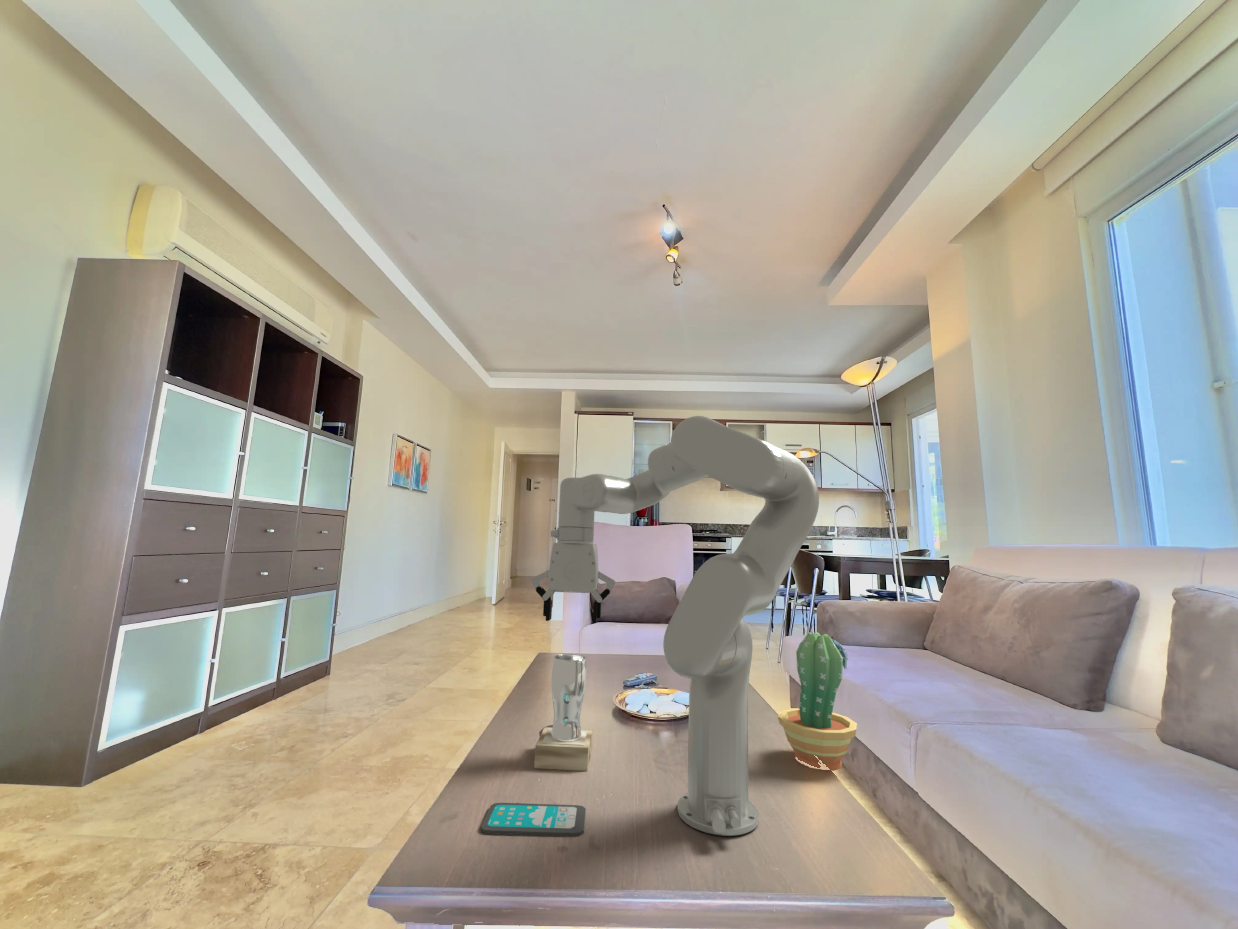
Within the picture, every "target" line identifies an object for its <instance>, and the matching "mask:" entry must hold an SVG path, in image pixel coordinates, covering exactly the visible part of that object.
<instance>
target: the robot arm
mask: <svg viewBox="0 0 1238 929" xmlns="http://www.w3.org/2000/svg"><path fill="white" fill-rule="evenodd" d="M647 467H648V469H647V470H645V471H643V472H641V473H639V474H637V475H634V476H630V477H629V478H623V477H618V476H612V475H607V474H603V473H592V474H589V475H585V476H583V477H582V476H581V477H578V476H577V477H576V476H575V477H567V478H564V479H562V481H561V483H560V486H559V487H560V488H559V505H558V506H559V508H558V522H557V523H558V525H557V526H558V527H557V529H555V530H551V531H550V537H551V538H556V540H557V542H553V543H552V547H551V552H550V558H549V567H548V570H546V571H544V572H541V573H540V574H538V575H535V576H533V577H532V578H531V582H532V584H533V586H534V589H535V591H536V593H537V594H538V595H539V596H540V598H541V599H542V600H543V609H542V610H543V611H542V612H543V613H542V615H543V616H542V617H545V622H549V621H550V620H552V617H553V616H552V615H553V614H552V612H553V611H552V610H553V600H552V596H553V595H554V594H555V592H556V593H573V594H574V593H575V594H577V593H580V594H591V595H592V597H593V598H594V602H593V610H592V611H593V614H592V622H593V623H594V624H596V623H598V619H601V617H602V616H601V615H602V602H603V601H604V600H605V599H606V598H607V597H608V596H609V595H610V594H611V592H612V590H613V588H614V587H615V584H616V580H615V579H613V578H611V577H609V576H608V575H606V574H605V573H602V572H601V571H599V556H598V552H599V551H598V547H597V546H598V545H597V543H594V535H595V534H594V533H595V531H594V530H595V529H594V528H595V512H600V513H609V514H610V513H612V514H617V515H618V514H619V515H626V514H627V515H628V514H633V513H635V512H637V511H641V510H643V509H645V508H649V507H651V506H652V507H653V506H654V505H657V504H658V503H660V502H661V501H663V500H664V499H665V498H666V497H667V496H668V495H670V493H671V492H673V491H674V490H677V489H681V488H683V487H685V486H688V485H690V484H693V483H695V482H698V481H702V480H704V479H707V478H712V479H714V480H715V481H718V482H719V483H722V484H723V485H726V486H728V487H729V488H732V489H734V490H736V491H737V492H740V493H742V494H743V493H744V494H746V495H750V496H755V497H757V498H762V499H764V501H765V502H764V505H763V507H762V508H761V510H760V512H759V513H758V514H757V515H756V516H755V517H754V519H753V520H752V521H751V523H750V524H749V526H748V528H747V530H746V532H745V534H744V535H743V538H742V540H741V541H740V543H739V545H738V546H737V548H736V550H734V552H733V553H721V554H717V555H715V556H712V557H710V558H708V559H707V560H706V561H704V563H703V564H701V565H700V567H699V568H698V569H697V571H696V572H695V573H694V575H693V577H692V578H691V580H690V582H689V584H688V586H687V588H686V589H685V591H684V593H683V595H682V597H681V599H680V601H679V603H678V604H677V606H676V609H675V611H674V613H673V614H672V616H671V618H670V620H669V621H668V624H667V626H666V628H665V633H664V637H663V644H662V645H663V646H662V647H663V653H664V657H665V660H666V662H667V664H668V666H669V668H670V669H671V670H672V671H673V672H674V673H676V674H677V675H679V676H680V677H682V678H685V679H690V684H689V691H688V692H689V693H688V694H689V695H688V743H687V744H688V746H687V749H688V750H687V751H688V758H687V762H688V763H687V793H685V794H683V795H681V797H680V798H679V799H678V801H677V812H678V816H679V817H680V819H681V820H682V821H683V822H684V823H685V824H687V825H688V826H690V827H691V828H693V829H695V830H698V831H700V832H703V833H707V834H710V835H716V836H720V837H721V836H723V837H725V836H726V837H727V836H728V837H731V836H732V837H733V836H734V837H735V836H740V835H745V834H748V833H750V832H752V831H753V830H754V829H756V828H757V826H758V824H759V819H760V818H759V817H760V816H759V814H760V813H759V811H758V809H757V807H756V806H755V804H754V803H753V802H751V801H750V800H749V682H750V673H751V664H752V658H753V637H752V633H751V630H750V627H749V625H748V624H747V623H746V621H745V620H744V619H743V618H744V617H745V616H750V615H755V614H758V613H760V612H762V611H764V610H766V609H767V608H769V606H770V605H771V603H772V601H774V598H775V596H776V594H777V593H778V590H779V589H780V588H781V585H782V583H783V581H784V579H785V577H786V576H787V575H788V572H789V571H790V569H791V567H792V565H793V563H794V561H795V559H796V557H797V555H798V554H799V551H800V549H801V547H802V546H803V545H804V543H805V542H806V541H805V540H806V539H807V538H808V535H809V533H810V531H811V529H812V528H813V526H814V523H815V521H816V518H817V515H818V513H819V506H820V495H819V488H818V484H817V482H816V479H815V477H814V475H813V474H812V472H811V471H810V469H809V468H808V467H807V465H806V464H805V463H804V462H803V461H802V460H801V459H800V458H798V457H797V456H796V455H795V454H792V453H791V452H789V451H788V450H785V449H783V448H780V447H778V446H777V445H775V444H772V443H769V442H767V441H765V440H763V439H760V438H758V437H755V436H752V435H750V434H747V433H745V432H743V431H740V430H737V429H734V428H732V427H729V426H727V425H725V424H723V423H720V422H719V421H717V420H713V419H712V418H709V417H707V416H704V415H694V416H690V417H687V418H685V419H684V420H682V421H680V422H679V423H678V424H677V425H676V427H675V428H674V429H673V431H672V434H671V437H670V442H669V443H666V444H664V445H661V446H659V447H656V448H654V449H653V450H651V451H650V453H649V455H648V459H647ZM545 579H547V588H548V589H547V590H545V589H544V587H543V586H542V584H541V583H542V582H541V581H542V580H545ZM599 580H600V581H602V582H604V583H605V584H606V587H605V589H604V590H603V591H602V592H601V593H600V591H599V590H598V587H599Z"/></svg>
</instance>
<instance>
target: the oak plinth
mask: <svg viewBox="0 0 1238 929" xmlns="http://www.w3.org/2000/svg"><path fill="white" fill-rule="evenodd" d="M544 727H545V728H544ZM544 727H543V728H544V730H543V732H542V731H541V732H542V733H541V734H540V735H539V737H538V739H537V742H536V743H535V748H534V750H535V752H534V769H545V770H561V771H562V770H563V771H580V772H581V771H583V772H584V771H585V772H588V769H589V765H590V761H591V756H592V750H593V733H594V731H593V729H589V728H588V729H587V728H581V733H582V736H581V738H580V739H578V740H576V741H571V742H561V741H556V740H554V739H552V738H551V731H552V727H546V726H544Z"/></svg>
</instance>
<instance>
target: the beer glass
mask: <svg viewBox="0 0 1238 929" xmlns="http://www.w3.org/2000/svg"><path fill="white" fill-rule="evenodd" d="M551 669H552V670H551V680H550V681H551V686H550V687H551V698H552V706H553V722H552V725H553V727H552V731H551V738H552V739H554V740H556V741H561V742H571V741H576V740H578V739H580V738H581V736H582V733H581V729H582V727H581V714H582V707H583V702H584V698H585V693H586V687H587V657H586V656H585V655H583V654H577V653H562V654H561V653H560V654H556V655H553V662H552V668H551Z"/></svg>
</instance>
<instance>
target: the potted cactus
mask: <svg viewBox="0 0 1238 929" xmlns="http://www.w3.org/2000/svg"><path fill="white" fill-rule="evenodd" d="M795 652H796V653H795V654H796V668H797V669H796V670H797V674H798V678H799V681H800V691H799V692H800V693H799V694H800V695H799V708H798V707H797V708H795V707H794V708H793V707H792V708H788V709H784V710H780V712H779V713H778V715H777V720H778V724H779V725H780V726H781V727H783V731H784V734H785V737H786V740H787V742H788V744H789V745H790V747H791V748H792V750H793V751H794V753H795V755H794V757H795V756H796V757H797V758H798V760H800V761H803V762H805V763H807V764H809V765H811V766H814V767H817V768H820V767H821V766H820V765H819V764H818V762H819V760H821V761H822V763H823V764H825V765H826V767H828V768H829V769H830V771H831V772H833V771H837V770H840V769H842V764H843V763H842V759H843V758H844V757H845V756H846V754H847V753H848V750H849V748H850V744H851V741H852V739H854V738H856V734H857V727H858V723H857V722H855V721H854V720H853V719H851V718H850V717H848V716H846V715H841V714H839V713H836V712H833V710H834V705H835V702H836V701H835V700H836V695H837V692H838V689H839V688H840V685H841V682H842V681H843V669H844V670H847V666H848V665H847V663H848V660H849V657H848V654H847V652H846V648H845V647H844V646H843V645H842V644H841V643H840V642H839V641H837V640H836V639H835V638H831V636H830V635H829V634H827V633H824V634H822V635H821V634H820V633H819V632H815V633H812V632H810V631H809V632H808V633H807V634H806V635H805V636H804V638H803V639H802V641H801V642H800V643H799V645H798V647H797V649H796V651H795ZM814 755H815V756H817V757H818V759H819V760H818V759H817V758H816V757H815V756H814ZM819 763H820V762H819ZM820 764H821V763H820Z"/></svg>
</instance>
